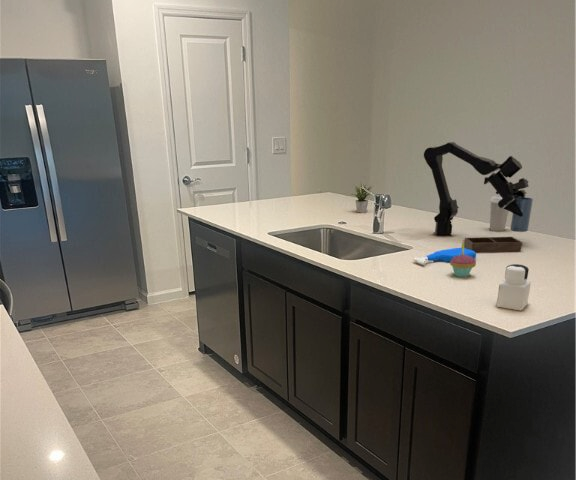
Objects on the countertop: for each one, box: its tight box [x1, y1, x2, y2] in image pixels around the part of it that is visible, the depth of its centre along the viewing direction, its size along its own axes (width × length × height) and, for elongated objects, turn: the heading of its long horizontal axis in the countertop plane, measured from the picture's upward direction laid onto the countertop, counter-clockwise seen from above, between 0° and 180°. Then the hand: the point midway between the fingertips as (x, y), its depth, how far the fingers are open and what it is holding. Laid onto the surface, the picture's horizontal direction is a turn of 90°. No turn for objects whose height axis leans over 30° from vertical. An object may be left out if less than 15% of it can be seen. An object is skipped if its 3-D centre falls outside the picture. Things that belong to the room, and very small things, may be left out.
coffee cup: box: [489, 195, 510, 232], centre depth 255 cm, size 10×10×15 cm
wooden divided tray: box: [463, 236, 523, 254], centre depth 223 cm, size 20×10×4 cm, turn 91°
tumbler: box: [510, 196, 534, 233], centre depth 226 cm, size 7×7×13 cm
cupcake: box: [449, 239, 477, 278], centre depth 188 cm, size 9×8×12 cm
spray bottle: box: [413, 247, 477, 266], centre depth 208 cm, size 3×11×24 cm
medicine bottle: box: [496, 263, 532, 311], centre depth 159 cm, size 7×7×12 cm
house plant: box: [351, 181, 373, 214], centre depth 305 cm, size 14×14×16 cm
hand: (524, 214), depth 226 cm, fingers closed on tumbler, 7 cm apart
